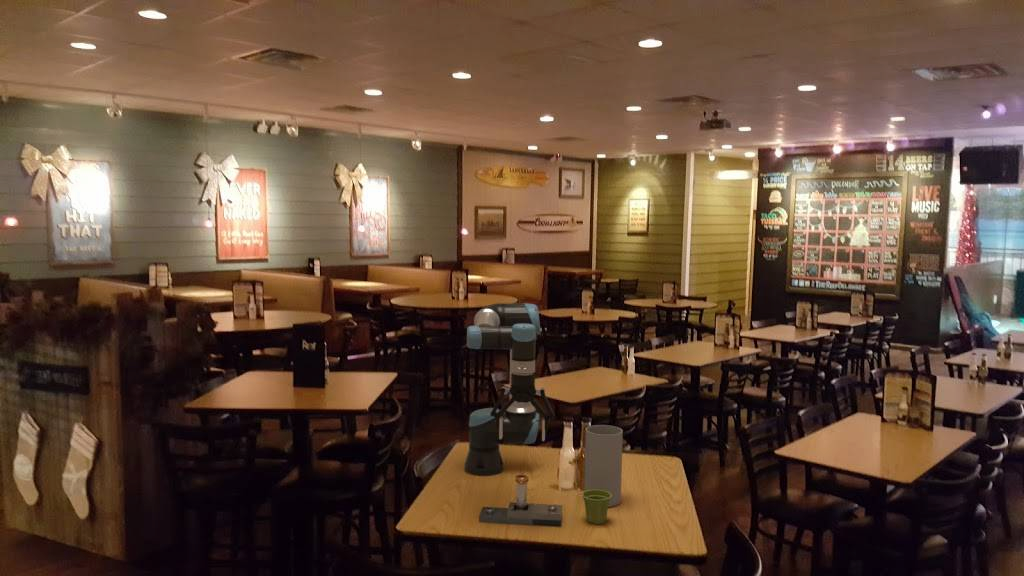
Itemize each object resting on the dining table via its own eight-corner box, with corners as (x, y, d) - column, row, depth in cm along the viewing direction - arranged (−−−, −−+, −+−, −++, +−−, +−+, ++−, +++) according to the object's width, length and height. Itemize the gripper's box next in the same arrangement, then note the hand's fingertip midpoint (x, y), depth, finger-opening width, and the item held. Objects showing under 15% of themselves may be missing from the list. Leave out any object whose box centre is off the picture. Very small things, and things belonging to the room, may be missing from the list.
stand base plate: (478, 522, 234) (479, 507, 234) (482, 512, 242) (482, 498, 242) (560, 526, 232) (561, 511, 231) (562, 517, 239) (562, 502, 239)
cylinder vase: (593, 492, 263) (595, 423, 261) (626, 499, 256) (628, 428, 254) (578, 503, 252) (579, 431, 250) (612, 510, 245) (613, 437, 244)
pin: (511, 518, 237) (512, 476, 236) (522, 516, 240) (523, 474, 239) (519, 523, 234) (520, 480, 233) (530, 520, 236) (531, 477, 235)
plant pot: (587, 527, 231) (588, 500, 230) (577, 516, 240) (577, 490, 239) (615, 525, 234) (616, 498, 233) (604, 514, 243) (604, 488, 242)
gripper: (482, 373, 231) (481, 440, 233) (562, 376, 228) (560, 444, 230) (485, 369, 238) (485, 433, 240) (563, 372, 236) (561, 437, 237)
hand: (522, 439), depth 235 cm, fingers open, 13 cm apart
